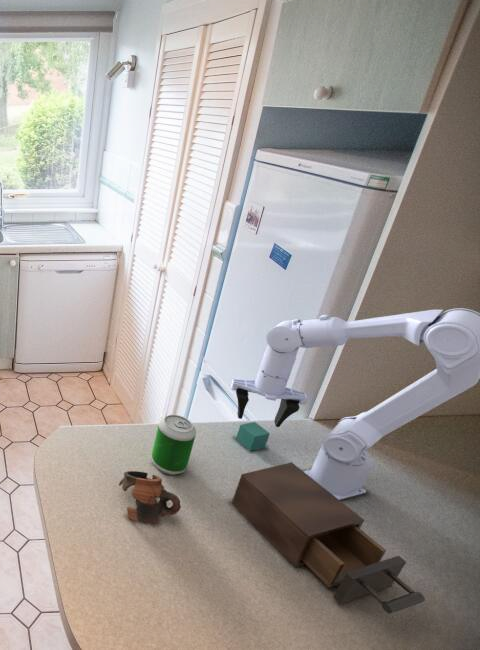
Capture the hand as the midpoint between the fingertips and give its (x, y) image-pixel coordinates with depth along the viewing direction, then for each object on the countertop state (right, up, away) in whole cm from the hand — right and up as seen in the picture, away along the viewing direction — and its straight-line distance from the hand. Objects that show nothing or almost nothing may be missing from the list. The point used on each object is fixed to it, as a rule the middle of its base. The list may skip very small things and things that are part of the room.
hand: (257, 420), depth 107 cm
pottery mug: (-32, -15, -14) cm, 38 cm away
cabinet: (-6, -16, -18) cm, 25 cm away
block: (0, -6, +3) cm, 7 cm away
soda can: (-23, -10, -4) cm, 25 cm away
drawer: (-3, -20, -28) cm, 34 cm away
